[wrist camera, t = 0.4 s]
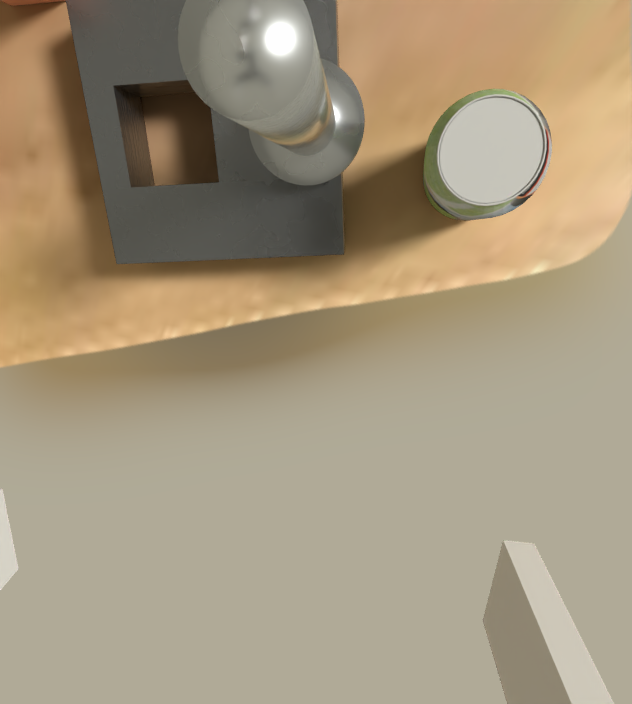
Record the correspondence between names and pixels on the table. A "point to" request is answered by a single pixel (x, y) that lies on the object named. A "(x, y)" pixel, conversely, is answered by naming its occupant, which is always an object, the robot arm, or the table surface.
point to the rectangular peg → (27, 2)
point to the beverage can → (486, 155)
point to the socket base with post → (222, 124)
